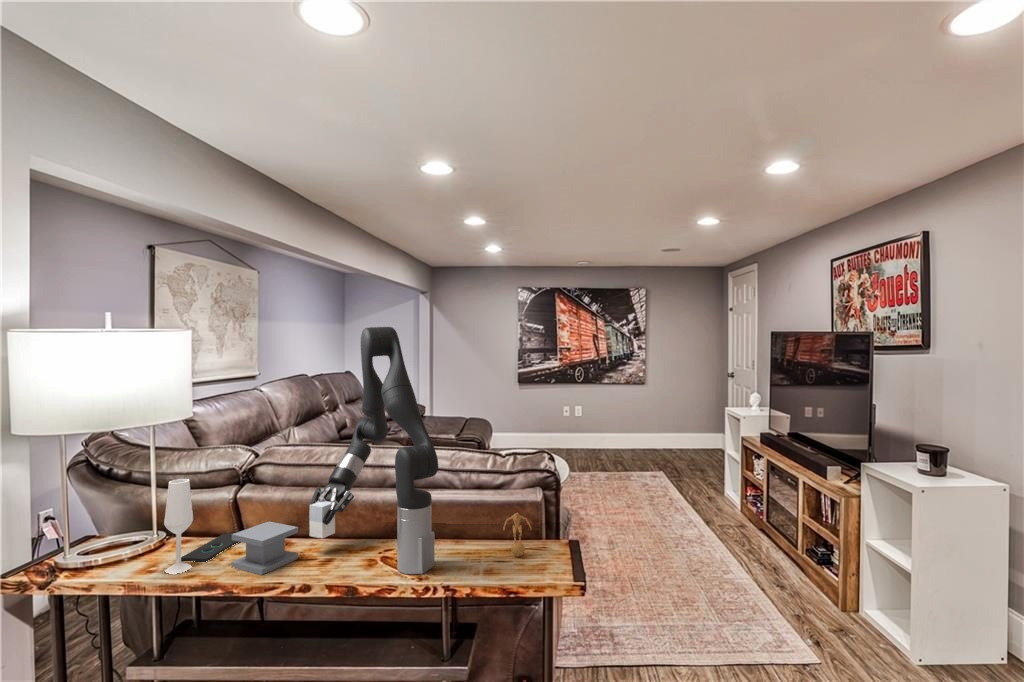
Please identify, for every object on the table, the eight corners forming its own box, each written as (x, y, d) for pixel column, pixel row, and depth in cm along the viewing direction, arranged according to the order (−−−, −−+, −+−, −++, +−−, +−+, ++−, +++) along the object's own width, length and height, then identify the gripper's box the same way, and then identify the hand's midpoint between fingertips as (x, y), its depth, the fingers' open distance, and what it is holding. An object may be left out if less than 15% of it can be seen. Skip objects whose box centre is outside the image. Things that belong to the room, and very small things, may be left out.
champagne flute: (157, 574, 138) (158, 484, 139) (174, 564, 145) (175, 478, 145) (182, 574, 138) (183, 484, 139) (198, 564, 145) (198, 478, 145)
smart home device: (179, 557, 147) (224, 532, 167) (179, 563, 147) (224, 537, 167) (206, 558, 146) (249, 533, 166) (206, 564, 146) (249, 538, 166)
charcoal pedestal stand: (298, 558, 149) (298, 527, 149) (262, 575, 138) (262, 541, 138) (268, 551, 154) (268, 521, 154) (231, 567, 143) (231, 534, 143)
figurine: (504, 559, 148) (504, 517, 148) (502, 551, 154) (502, 510, 154) (533, 558, 149) (533, 516, 149) (530, 550, 155) (529, 509, 155)
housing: (335, 533, 154) (334, 502, 154) (322, 538, 149) (322, 507, 150) (322, 530, 156) (322, 500, 156) (309, 536, 152) (309, 505, 152)
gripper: (323, 463, 163) (292, 512, 152) (358, 467, 157) (329, 518, 146) (335, 476, 168) (306, 525, 157) (370, 480, 162) (342, 531, 150)
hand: (317, 521), depth 151 cm, fingers closed on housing, 5 cm apart
